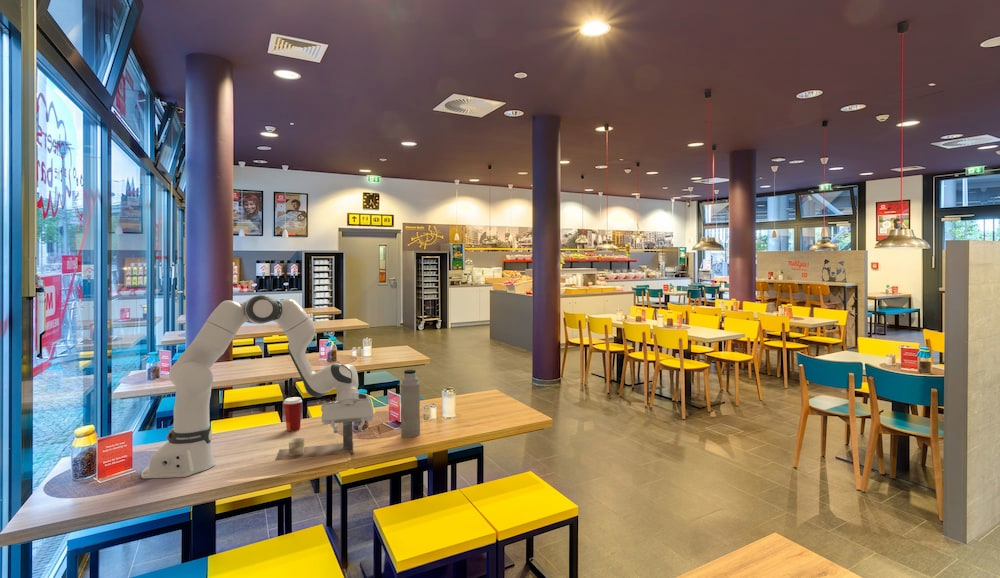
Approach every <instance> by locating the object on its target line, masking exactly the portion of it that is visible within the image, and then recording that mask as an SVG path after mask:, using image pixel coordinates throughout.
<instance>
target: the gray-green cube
mask: <svg viewBox="0 0 1000 578" xmlns="http://www.w3.org/2000/svg"><path fill="white" fill-rule="evenodd" d="M304 447H305V437H296V438H295V437H293V438H290V439H289V441H288V449H289V456H293V455H303V453H304Z"/></svg>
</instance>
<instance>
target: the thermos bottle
mask: <svg viewBox="0 0 1000 578" xmlns="http://www.w3.org/2000/svg"><path fill="white" fill-rule="evenodd" d="M416 372H417V371H416V370H415V369H406V370H404V371H403V373H404V375H403V377H402V381H401V383H400V404H401V423H400V425H401V426H400V428H401V434H400V435H401V436H402V437H404V438H415V437H418V436H420V435H421V417H420V416H421V413H420V408H421V406H420V405H421V402H420V397H421V396H420V394H421V393H420V392H421V391H420V390H421V389H420V387H421V385H420V382H419V377H417V374H416ZM417 435H418V436H417ZM414 436H415V437H414Z"/></svg>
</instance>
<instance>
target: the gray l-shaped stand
mask: <svg viewBox="0 0 1000 578" xmlns="http://www.w3.org/2000/svg"><path fill="white" fill-rule="evenodd" d="M342 434H343V435H342V436H343V437H342V439H343V440H342V443H334V444H324V445H323V444H322V445H314V446H313V445H312V446H304V453H303V455H293V456H289V448H283V449H282V448H281V449H278V452H277V455H276V458H275V459H274V461H285V460H295V459H304V458H313V457H314V458H315V457H323V456H324V457H325V456H333V455H343V454H350V456H352V455H354V441H353V439H354V438H353V422H352V421H351V422H343V423H342Z"/></svg>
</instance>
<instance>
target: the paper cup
mask: <svg viewBox="0 0 1000 578" xmlns="http://www.w3.org/2000/svg"><path fill="white" fill-rule="evenodd" d="M302 402H303V400H302V398H301V397H299V396H293V397H291V396H290V397H287V398H285V399H284V401H283V404H284V415H285V425H286V426H285V427H286V431H287V432H289V431H294V432H298V431H300V430H301V419H302ZM299 429H300V430H299ZM297 430H298V431H297Z"/></svg>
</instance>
